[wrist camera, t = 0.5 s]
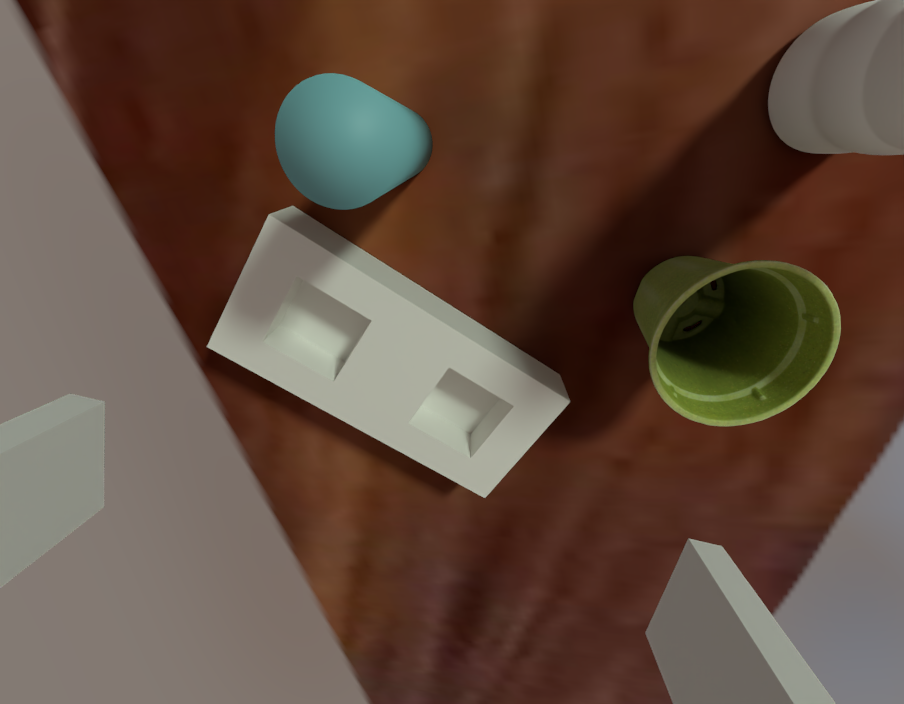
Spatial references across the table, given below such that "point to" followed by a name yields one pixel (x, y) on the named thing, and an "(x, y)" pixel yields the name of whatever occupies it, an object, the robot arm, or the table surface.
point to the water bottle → (844, 83)
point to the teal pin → (348, 141)
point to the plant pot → (735, 336)
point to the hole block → (384, 354)
